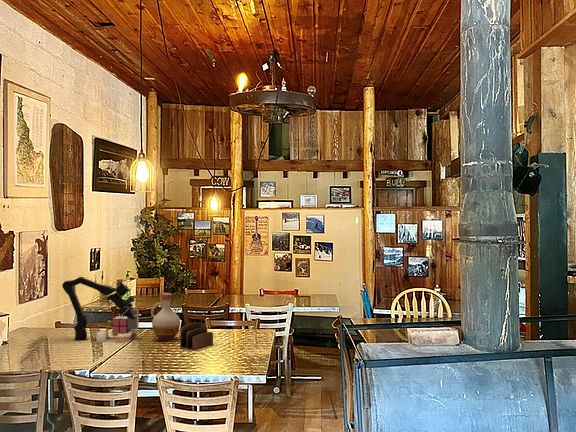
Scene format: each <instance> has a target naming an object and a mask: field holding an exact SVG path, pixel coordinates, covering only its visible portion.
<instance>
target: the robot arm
mask: <svg viewBox="0 0 576 432" xmlns="http://www.w3.org/2000/svg"><path fill="white" fill-rule="evenodd" d="M79 284H81V285H83V286H86V287H88V288H91V289H93V290H96V291H98V292H99V293H100V294H102V295H103V296H106V302H109V301H111V302H112V303H113V304H114V305H115V308H118V309H119V311H118V314H119V315H120V316H122V317H129V318H131V319H135V318H134V316H133V315H132V313H131V312H130V309H134V306H133V305H134V304H133V303H134V302H135V301H136V299H135V297H134V296H132V295H129V296H128V298H126V299H124V298H122V297H124V296H125V295H126V294H127V293H128V292H129V291H130V288H129V287H128V286H127V285H126V284H124V283H122V282H121V283H120V284H119V286H117V287H113V286H111V285H107V284H100V283H98V282H96V281H93V280H91V279H88V278H86V277H84V276H79V277H77V278H75V279H73V280H70V279H69V280H67V281H64V282H63V283H62V289H63V291H64V292H65V293H66V294H67V295H68V298H69V300H70V302H71V305H72V308H73V310H74V312H75V314H76V322H77V324H76V325H75V326H74V327H73V329H74V340H75V341H85V340H87V339H88V331H87V327H88V326H89V325H90V322H91V319H90V317H89V314H88V313H87V314H86V313H85V312H84V310H83V308H82V305H81V303H80V300H79V298H78V296H77V293H76V286H77V285H79Z"/></svg>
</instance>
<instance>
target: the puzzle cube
mask: <svg viewBox="0 0 576 432" xmlns="http://www.w3.org/2000/svg"><path fill="white" fill-rule="evenodd" d="M111 325H112V326H111V327H115V328H111V329H112V330H111V331H112V334H114V332H117V334H127V333H130V332H131V330H128V317H126V316H115V317H113V318H112V324H111Z"/></svg>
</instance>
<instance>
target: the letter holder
mask: <svg viewBox="0 0 576 432" xmlns="http://www.w3.org/2000/svg"><path fill="white" fill-rule="evenodd" d="M179 331H180V333H179V334H180V337H179V338H180V339H179V340H180V341H179V345H180V347H179V349H180V350H185V349H187V351H195V350H200V349H202V348H207V347H209V346H213V345H214V333H213V331H208V328H207V327H203V323H202V322H199V321H198V322H191V323H187V324H185V325H183V326H180V330H179Z"/></svg>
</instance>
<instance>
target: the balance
mask: <svg viewBox="0 0 576 432" xmlns="http://www.w3.org/2000/svg"><path fill="white" fill-rule="evenodd" d="M97 326H98V329H97V331H95V334H97V332H98V331H100V327H105V331H106V332H107V337H106V340H111V338H112V337H115V336H116V337H117V336H119V333H117V332H114V333H112V334H111V336H112V337H111V336H109V328H110V329H112V328H115V327H112V326H109V325H103V324H98V325H97Z"/></svg>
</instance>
